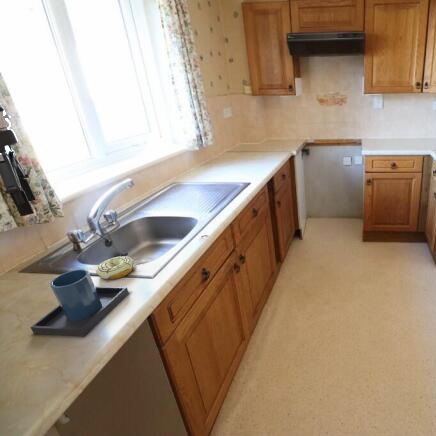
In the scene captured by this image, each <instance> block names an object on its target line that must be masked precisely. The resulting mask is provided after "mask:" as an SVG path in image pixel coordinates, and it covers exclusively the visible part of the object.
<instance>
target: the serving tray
mask: <svg viewBox="0 0 436 436" xmlns="http://www.w3.org/2000/svg"><path fill="white" fill-rule="evenodd" d="M94 286H95V288H96V290H97V293H98V295H99V298H100V300H101V303H102V307H101V309H100V310H99V311H98V312H97V313H95V314H94V315H92V316H90V317H88V318H86V319H83V320H79V321H69V320H68V319H67V318H66V316H65V314H64V312H63V310H62V308H61V306H60V304H58V305H57V306H56V307H54V308H53V309H52V310H50V311H49V312H47V314H45V315H44V316H43V317H41V318H40V319H39V320H38V321H36V322H35V323H34V324H32V325H31V326H30V327H29V328H30V329H31V331H32V333H33V335H40V336H41V335H43V336H60V337H61V336H64V337H83V338H84V337H86V336H87V335H88V334H89V333H90V332H91V331H92V330H93V329H95V328H96V326H97V325H98V324H99V323H100V322H101V321H102V320H104V318H105V317H106V316H107V315H109V314H110V313H111V312H112V311H113V310H114V309H115V308H116V307H117V306H118V305H119V304H120V303H121V302H122V301H124V299H125V298H126V297H127V296H128V295H130V293H129V290H128V287H127V286H99V285H98V286H96V285H94Z"/></svg>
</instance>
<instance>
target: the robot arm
mask: <svg viewBox="0 0 436 436" xmlns="http://www.w3.org/2000/svg"><path fill="white" fill-rule="evenodd" d="M11 118H12V117H11V115H10V114H6V112H5V109H4V107H3V105H2V103H1V101H0V177H1V179H2V182H3V185H4V188H5V190H3V193H4V195H10V197H11V199H12V201H13V203H14V206H15V207H16V210H17V212H18V213H19V216H20V217H24V216H25V217H26V216H29V215H34V214H35V212H34V209H33V207H32V204H31V202H33V201H36V200H37V198H36V196H35V193H34V192H33V189H32V187H31V186H30V183H29V181H28V179H29V178H30V175H29V173H26V171H25V170H24V168H23V167H22V165H21V163H20V160H19V159H18V158H17V157H18V156H17V155H16V152H15V150H13V147H12V146H14V145H17V144H18V143H19V140H18V137H17V135H16V133H15V131H14V130H13V129H12V128H11V127H12V125H11V122H10V120H9V119H11Z"/></svg>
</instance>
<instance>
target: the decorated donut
mask: <svg viewBox="0 0 436 436" xmlns="http://www.w3.org/2000/svg"><path fill="white" fill-rule="evenodd" d="M133 268H134V260H133V258H132V257H130V256H127V255H126V256H125V255H120V256H115V257H112V258H109V259H107V260H104V261H102V262H100V263H99V264H98V266H97V267H96V268H95V273H96V274H97V276H98V277H100V278H101V279H104V280H111V281H112V280H117V279H120V278H124V277H126V276H127V275H129V274H130V273H131V272H132V270H133Z"/></svg>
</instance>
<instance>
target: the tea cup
mask: <svg viewBox="0 0 436 436" xmlns="http://www.w3.org/2000/svg"><path fill="white" fill-rule="evenodd" d="M49 285H50V288H51V290H52V292H53V294H54V296H55V298H56V300H57V302H58V305H60V306H61V308H62V310H63V312H64V314H65V316H66V318H67V319H68V320H69V321H79V320H83V319H86V318H88V317H90V316H92V315H94V314H95V313H97V312H98V311H99V310H100V309H101V307H102V303H101V300H100V298H99V295H98V293H97V290H96V288H95V286H96V285H95V283H94V281H93V279H92V275H91V274H90V272H89V270H87V269H85V268H78V269H72V270H69V271H66V272H64V273H62V274H59V275H58V276H56V277H54V278H53V279H52V280H51V281H50V283H49Z"/></svg>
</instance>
